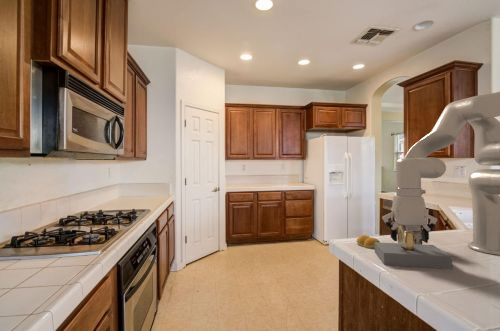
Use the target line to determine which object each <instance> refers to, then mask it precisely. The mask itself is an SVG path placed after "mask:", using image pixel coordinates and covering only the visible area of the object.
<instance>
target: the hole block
mask: <svg viewBox="0 0 500 331" xmlns="http://www.w3.org/2000/svg"><path fill="white" fill-rule="evenodd" d="M374 253H375V255H376V256H377V258H379V260H380V261H381V263H382V264H383V265H385V266H402V267H414V268H415V267H416V268H418V267H419V268H430V269H432V268H433V269H443V268H446V269H447V270H452V269H453V268H452V267H453V264H452V256H451V255H449V254H448V253H446V252H445V251H443V250H442V249H440V248H438V247H437V246H436V245H433V244H422V245H421V244H414V251H405V250H404V244H401V243H398V242H397V243H396V242H381V241H380V242H375V248H374Z"/></svg>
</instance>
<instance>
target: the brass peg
mask: <svg viewBox="0 0 500 331" xmlns="http://www.w3.org/2000/svg"><path fill="white" fill-rule="evenodd" d="M404 250H405V251H414V232H412V231H404Z"/></svg>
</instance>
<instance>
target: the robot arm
mask: <svg viewBox="0 0 500 331" xmlns="http://www.w3.org/2000/svg"><path fill="white" fill-rule="evenodd" d="M497 117H500V91H496V92H492V93H485V94H480V95H474V96H471V97H470V96H469V97H466V98H462V99H458V100H455V101H452V102H450V103H448V104H447V105H445V107H444V109H443V111H442V112H441V114H440V116H439V117H438V119H437V120H436V123H435V125H433V128H432V129H431V131H430V132H429V133H427V134H426V135H425V136H423V137H422V138H421V139H420V140H418V141H417V142H416V143H415V144H413V145H412V146H411V147H410V149H409V150H408V151H407V153H406V154H405V156H404V157H403V158H398V159H397V160H396V162H395V192H396V193H395V194H396V195H394V196H393V198H392V204H391V212H390V213H386V214H385V215H383V216H382V217H381V219H382V220H383V222H384V224H385V225H386V226H387V227H388V228H389V229H390V238H391V239H392V240H393V241H394V242H398V235H397V227H398V226H399V225H412V226H421V227H422V230H421V237H422V242H424V243H426V244H428V243H429V239H430V231H431V230H432V229H434V227H435V226H436V223H437V221H438V218H437V217H435V216H432V215H430V214H428V213H427V208H426V203H425V199H424V197H423V194H424V195H426V192H427V191H426V189H423V188H422V179H429V180H430V179H438V178H440V177H442V176H443V175H444V174H446V171H447V165H446V163H445V162H444V161H443V159H441V158H438V157H428V156H429V155H431V154H433V153H435V152H437V151H439V150H441V149H442V150H443V149H444V148H447V147H449V146H452V145H453V144H454V143H456V142H457V141H458V139H459V138H460V136H461V134H462V132H463V130H464V128H465V127H466V125H467V124H470V126H471V127H472V129H473V132H474V145H473V147H474V150H473V152H474V153H473V154H474V155H473V156H474V160H475V163H477V164H478V165H481V166H489V167H490V166H492V167H493V166H496V167H498V166H500V120H498V119H497ZM468 185H469V189H470V194H471V199H472V200H471V202H472V203H471V204H472V241H471V242H468V244H467V247H468V248H470V249H471V250H474V251H476V252H479V253H480V252H481V253H483V254H489V255H490V254H491V255H495V256H496V255H497V256H500V168H499V169H497V168H484V169H478V170H474V171H473V172H471V173H470V175H469V176H468ZM390 218H391V222H389V219H390ZM428 220H429V222H428Z"/></svg>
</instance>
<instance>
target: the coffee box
mask: <svg viewBox="0 0 500 331" xmlns="http://www.w3.org/2000/svg"><path fill="white" fill-rule="evenodd" d="M422 229H423V228H422V227H421V226H412V225H399V226H398V227H397V228H396V230H397V243H401V244H404V231H412V232H414V244H421V245H423V241H422V237H421V230H422Z"/></svg>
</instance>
